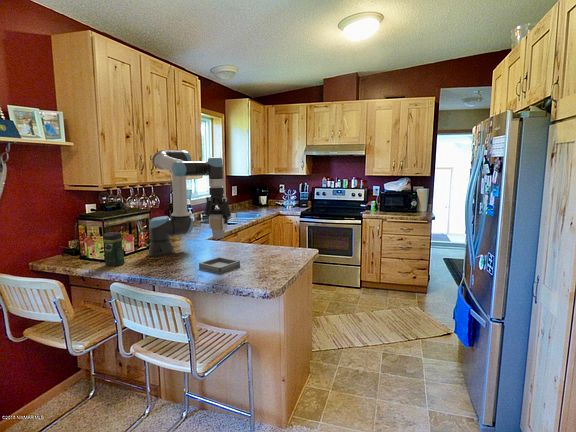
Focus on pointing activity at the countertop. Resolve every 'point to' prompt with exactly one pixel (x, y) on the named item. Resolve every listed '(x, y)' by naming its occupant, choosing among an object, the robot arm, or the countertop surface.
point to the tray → (219, 265)
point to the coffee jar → (113, 249)
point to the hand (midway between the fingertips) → (218, 228)
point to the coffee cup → (216, 223)
